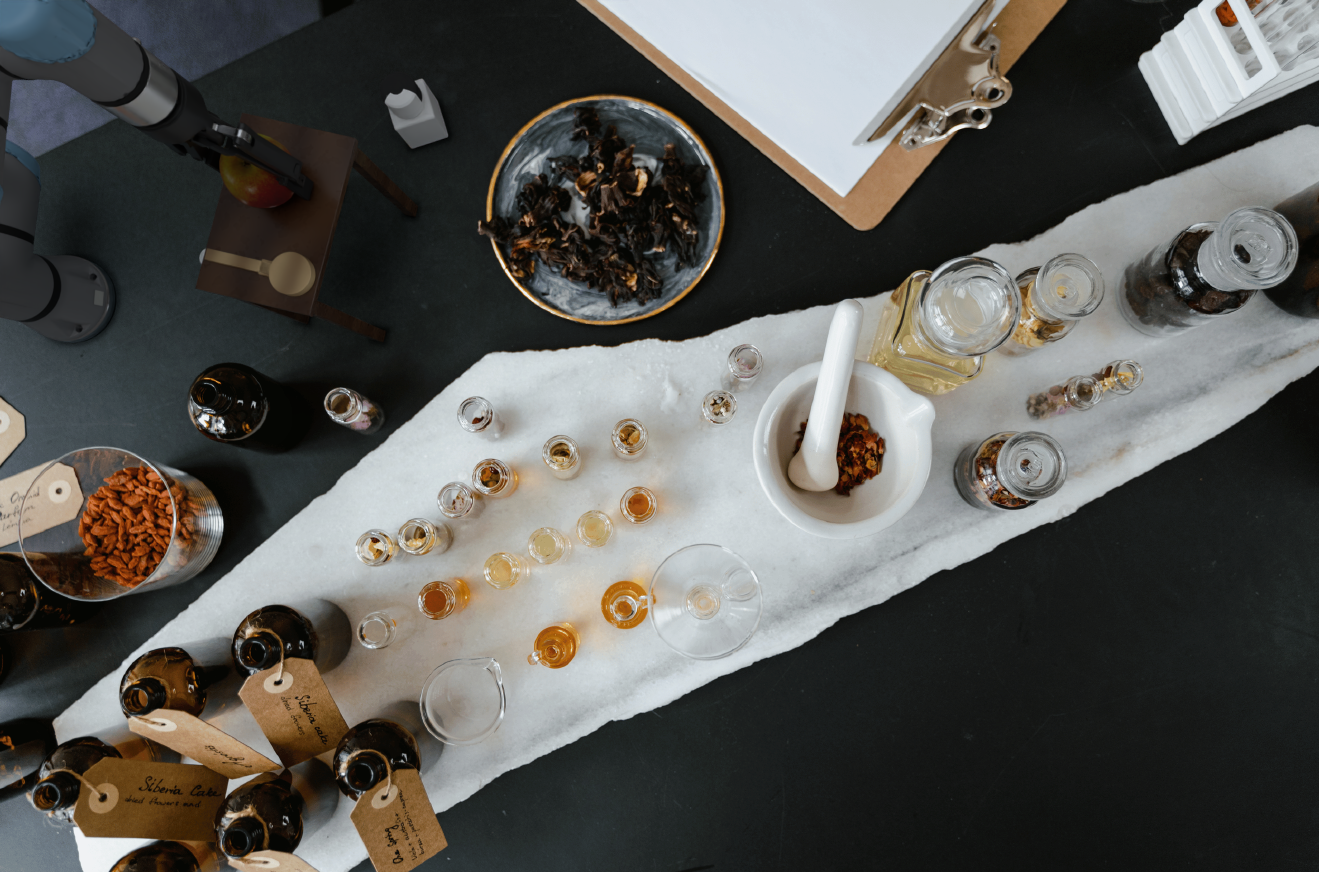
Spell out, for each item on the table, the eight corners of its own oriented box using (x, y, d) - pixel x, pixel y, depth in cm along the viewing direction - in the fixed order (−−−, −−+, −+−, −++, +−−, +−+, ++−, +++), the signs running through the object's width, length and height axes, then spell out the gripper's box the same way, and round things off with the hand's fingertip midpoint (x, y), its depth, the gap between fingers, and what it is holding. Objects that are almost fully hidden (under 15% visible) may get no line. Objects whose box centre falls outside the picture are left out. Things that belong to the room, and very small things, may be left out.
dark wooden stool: (293, 323, 118) (194, 288, 94) (330, 183, 118) (241, 112, 94) (385, 345, 117) (309, 315, 93) (421, 204, 118) (355, 137, 94)
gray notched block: (400, 112, 119) (368, 73, 107) (438, 100, 118) (410, 59, 106) (411, 149, 118) (381, 114, 106) (449, 137, 118) (423, 100, 106)
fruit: (284, 228, 93) (248, 206, 85) (231, 196, 94) (190, 171, 86) (321, 171, 93) (288, 143, 85) (268, 138, 94) (230, 108, 86)
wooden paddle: (205, 276, 94) (199, 273, 92) (216, 235, 94) (210, 232, 93) (309, 300, 93) (304, 298, 92) (320, 259, 93) (315, 256, 92)
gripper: (254, 82, 70) (356, 174, 93) (61, 39, 71) (209, 140, 94) (236, 150, 70) (343, 225, 93) (42, 105, 71) (195, 191, 93)
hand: (275, 183), depth 93 cm, fingers closed on fruit, 9 cm apart
